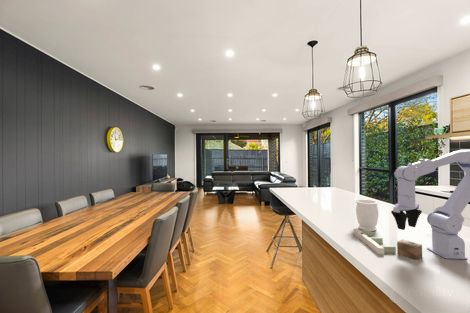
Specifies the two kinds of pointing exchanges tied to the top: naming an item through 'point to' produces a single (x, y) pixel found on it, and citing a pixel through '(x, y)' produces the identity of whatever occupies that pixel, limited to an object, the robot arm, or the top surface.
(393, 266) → the top surface
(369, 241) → the rack
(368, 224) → the jar
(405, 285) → the top surface
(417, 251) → the cardboard box
